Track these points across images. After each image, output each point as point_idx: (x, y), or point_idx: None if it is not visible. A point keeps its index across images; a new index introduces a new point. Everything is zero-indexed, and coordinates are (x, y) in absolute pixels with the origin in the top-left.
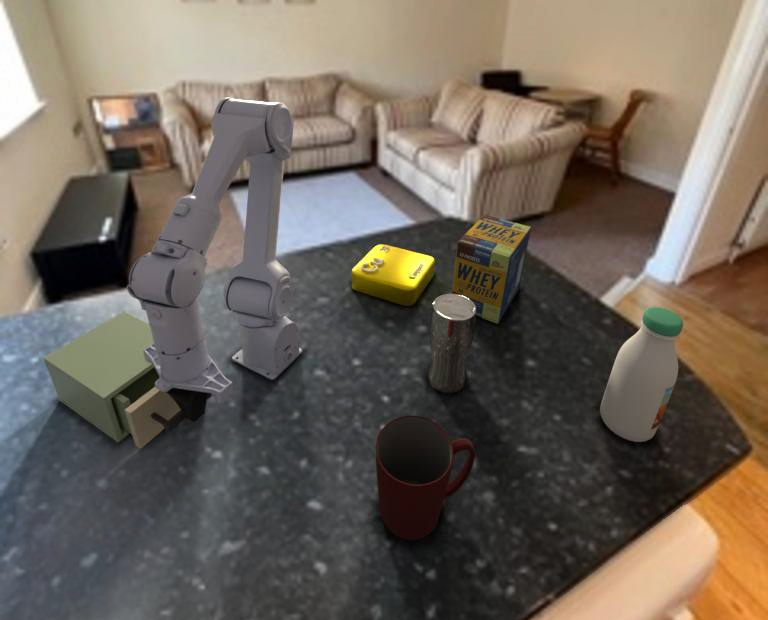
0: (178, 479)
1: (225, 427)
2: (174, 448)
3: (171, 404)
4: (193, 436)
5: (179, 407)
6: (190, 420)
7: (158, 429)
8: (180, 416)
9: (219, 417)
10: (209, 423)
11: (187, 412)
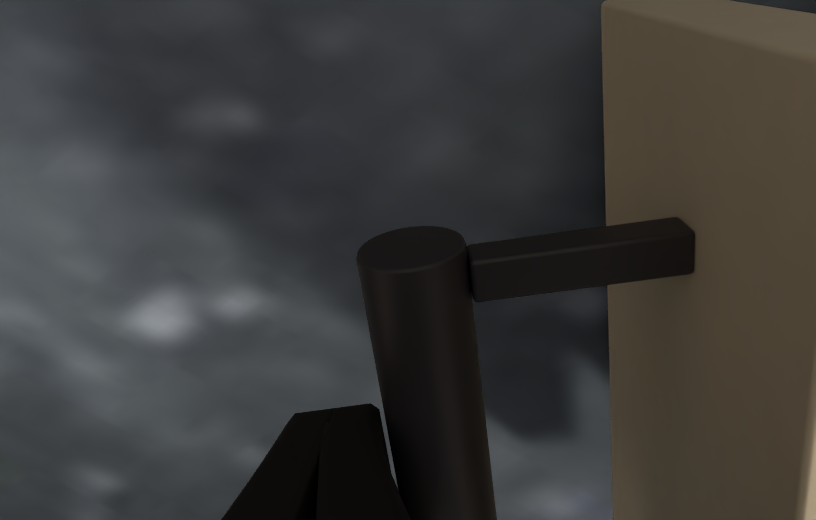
0: (172, 59)
1: None
2: (425, 171)
3: (662, 390)
4: None
5: (386, 500)
6: (312, 419)
7: (615, 184)
8: (401, 399)
9: None
10: None
11: (250, 514)
